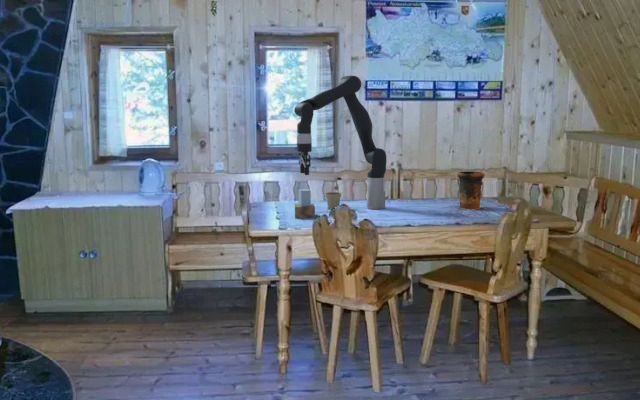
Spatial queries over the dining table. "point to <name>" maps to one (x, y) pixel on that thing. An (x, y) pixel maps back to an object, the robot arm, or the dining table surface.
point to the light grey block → (304, 197)
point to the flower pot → (333, 199)
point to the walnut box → (304, 211)
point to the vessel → (470, 189)
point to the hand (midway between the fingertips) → (304, 174)
